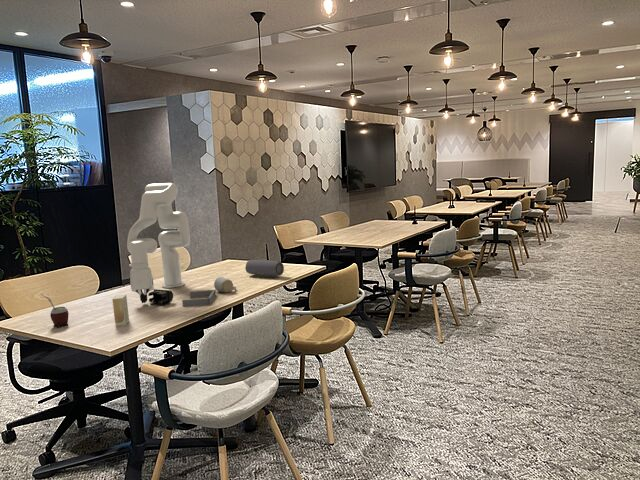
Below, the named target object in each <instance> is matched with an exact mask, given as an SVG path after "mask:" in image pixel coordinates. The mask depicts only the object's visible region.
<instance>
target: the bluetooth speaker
mask: <svg viewBox="0 0 640 480" xmlns="http://www.w3.org/2000/svg"><path fill="white" fill-rule="evenodd" d="M244 269H245V271H246V273H247V274H250V275H255V276H257V277H259V278H273V277H281V276H282V275H283V273H284V272H285V267H284V264H283V262H282V261H278V260H268V259H249V260H247V262H246V263H245V267H244Z"/></svg>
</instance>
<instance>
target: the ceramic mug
mask: <svg viewBox="0 0 640 480" xmlns="http://www.w3.org/2000/svg"><path fill="white" fill-rule="evenodd" d="M213 287H214V290H215V291H217V292H221V293H224V294H225V293H226V294H227V293H230V292H231V291H233V290H234V291H236V290H237V286H234V284H233V281H232V280H230V279H229V278H227V277H224V276H218V277H217V278H216V279H215V281H214V283H213Z"/></svg>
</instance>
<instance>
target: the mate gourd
mask: <svg viewBox="0 0 640 480" xmlns="http://www.w3.org/2000/svg"><path fill="white" fill-rule="evenodd" d="M43 298H45V299H47V300H48V302H49V303H50V304H51V306H52V309H51V311H50V320H51V322H52V323H53V327H56V329H59V328H61V327H68V326H69V324H68V323H69V315H70V314H69V310H68V309H67V308H66V306H56V307H55V306H54V304H53V302H52V299H51V298H49V297H48V296H45V295H43Z"/></svg>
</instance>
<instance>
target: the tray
mask: <svg viewBox="0 0 640 480" xmlns="http://www.w3.org/2000/svg"><path fill="white" fill-rule="evenodd" d="M216 291H217V290H216V289H211V290H210V289H209V290H208V289H207V290H195V291H194V290H193V291H192V290H191V291H189V298H192V299H189V298H188V299H182V300H181V301H182V307H193V306H194V307H195V306H196V307H197V306H207V305H212V302H213V301H214V299H215V297H216V296H217V293H216ZM207 297H208V298H207Z"/></svg>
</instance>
